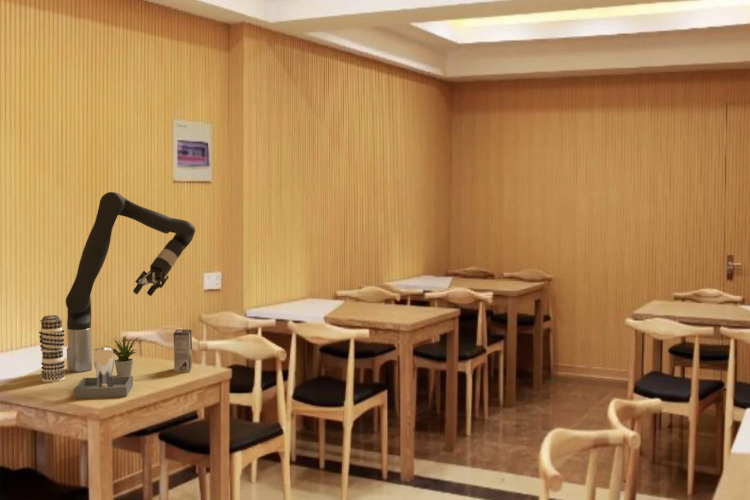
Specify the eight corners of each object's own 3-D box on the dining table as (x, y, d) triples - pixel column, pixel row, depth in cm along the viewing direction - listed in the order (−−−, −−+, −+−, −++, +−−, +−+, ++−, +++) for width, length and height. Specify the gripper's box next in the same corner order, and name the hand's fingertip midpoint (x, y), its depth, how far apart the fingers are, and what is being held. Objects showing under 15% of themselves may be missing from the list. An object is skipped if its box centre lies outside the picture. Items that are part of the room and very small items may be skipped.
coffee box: (177, 367, 352) (176, 329, 350) (192, 367, 352) (192, 329, 351) (173, 372, 342) (172, 333, 341) (190, 372, 343) (189, 332, 342)
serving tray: (74, 398, 301) (73, 389, 300) (83, 387, 318) (83, 377, 318) (126, 396, 303) (126, 387, 303) (133, 385, 321) (132, 376, 321)
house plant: (134, 369, 349) (132, 330, 348) (151, 374, 339) (150, 334, 338) (101, 374, 339) (100, 334, 338) (118, 380, 329) (117, 338, 328)
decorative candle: (63, 381, 327) (61, 317, 325) (38, 382, 326) (36, 318, 324) (68, 376, 336) (66, 314, 334) (43, 377, 335) (41, 314, 333)
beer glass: (118, 387, 313) (117, 347, 312) (107, 391, 306) (105, 350, 305) (102, 386, 315) (101, 346, 314) (90, 390, 309) (89, 349, 308)
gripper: (147, 255, 346) (124, 286, 338) (170, 257, 338) (147, 289, 329) (157, 267, 351) (135, 298, 342) (181, 269, 342) (159, 301, 334)
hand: (141, 293), depth 336 cm, fingers open, 8 cm apart
